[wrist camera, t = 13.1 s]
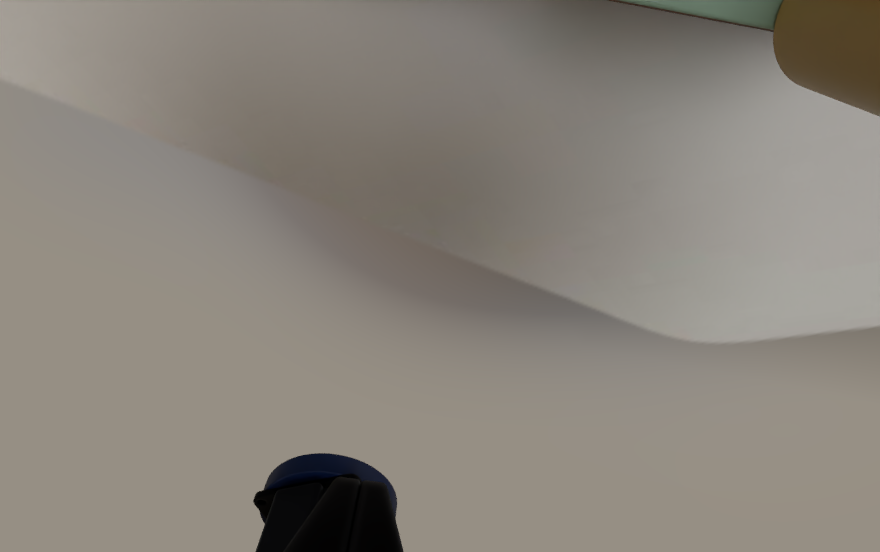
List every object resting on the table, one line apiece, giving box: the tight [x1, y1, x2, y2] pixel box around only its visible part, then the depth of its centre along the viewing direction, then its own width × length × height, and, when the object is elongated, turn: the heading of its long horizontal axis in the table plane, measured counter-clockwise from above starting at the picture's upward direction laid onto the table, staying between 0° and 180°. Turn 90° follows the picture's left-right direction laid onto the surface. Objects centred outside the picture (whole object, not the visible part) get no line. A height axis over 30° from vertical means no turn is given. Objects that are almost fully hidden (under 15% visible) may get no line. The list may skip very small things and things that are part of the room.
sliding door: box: [618, 0, 880, 116], centre depth 11 cm, size 2×8×11 cm, turn 81°
